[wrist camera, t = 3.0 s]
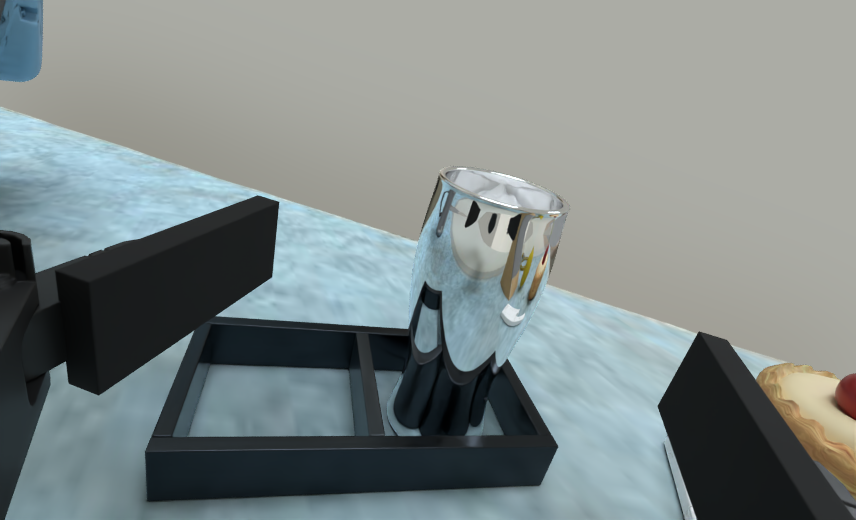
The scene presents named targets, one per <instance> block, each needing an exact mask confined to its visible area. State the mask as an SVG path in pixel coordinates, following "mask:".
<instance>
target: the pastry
mask: <svg viewBox="0 0 856 520" xmlns="http://www.w3.org/2000/svg"><path fill="white" fill-rule="evenodd" d="M756 381H757V383H758V384H759V385H760V387H761V388H762V390H763V391H764V392H765V394H766V395H767V397H768V398H769V399H770V401H771V402H772V404H773V405H774V406H775V408H776V409H777V411H778V412H779V413H780V415H781V416H782V418H783V419H784V420H785V422H786V423H787V425H788V426H789V427H790V429H791V430H792V432H793V433H794V434H795V436H796V437H797V439H798V440H799V441H800V443H801V444H802V446H803V447H804V448H805V450H806V451H807V453H808V454H809V455H810V457H811V458H812V460H815V461H818V462H820V463H821V464H822V465H823V466H824V467H825V468H826V469H827V470H828V471H829V472H831V473H832V474H833V475H834V476H835V477H836V478H837V479H838V480H839V481H840V482H841V483H843V484H844V486H845V487H846V488H847V490H848V491H849V492H850V494H851V495H852V496H853V498H854V499H855V500H856V374H850V375H848V376H846V377H844V378H843V379H842V380H839V379H838V378H836V376H835V375H834V374H833V373H830V372H828V371H814V370H813V368H812V367H811V366H808V365H800V366H794V364H793V363H784V364H779V365H774V366H770V367H767V368H765V369H764V370H763V371H761V372H760V374H759V375H758V377H757V379H756Z"/></svg>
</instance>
